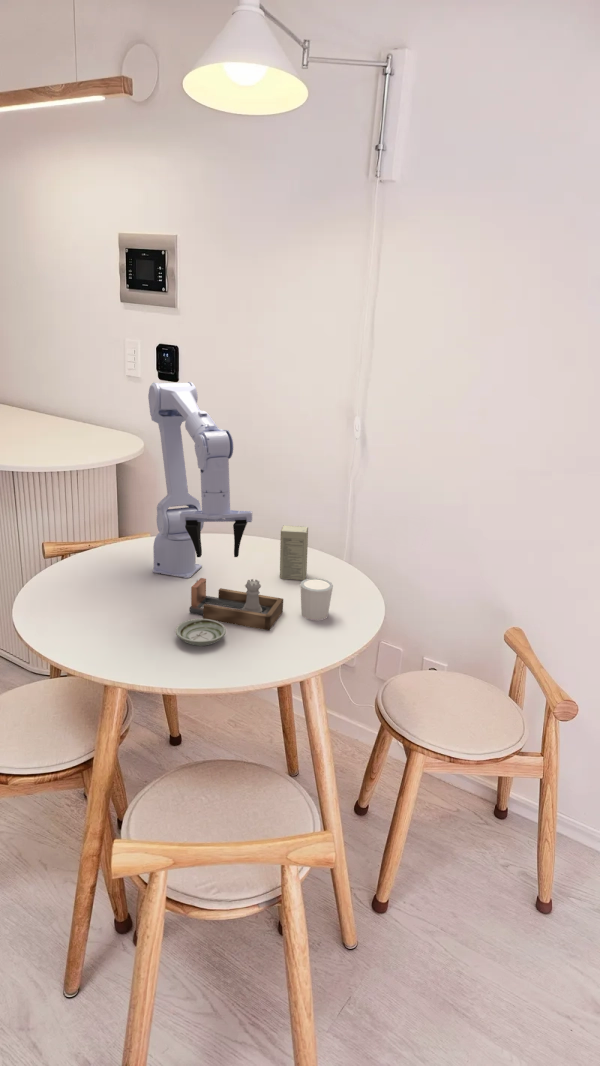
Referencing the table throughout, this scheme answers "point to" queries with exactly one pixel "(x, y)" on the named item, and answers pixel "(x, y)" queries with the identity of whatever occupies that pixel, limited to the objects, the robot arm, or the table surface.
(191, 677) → the table surface
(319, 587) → the shot glass
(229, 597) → the walnut lane
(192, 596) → the frame
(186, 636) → the saucer
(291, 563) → the skincare box
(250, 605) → the rook chess piece
